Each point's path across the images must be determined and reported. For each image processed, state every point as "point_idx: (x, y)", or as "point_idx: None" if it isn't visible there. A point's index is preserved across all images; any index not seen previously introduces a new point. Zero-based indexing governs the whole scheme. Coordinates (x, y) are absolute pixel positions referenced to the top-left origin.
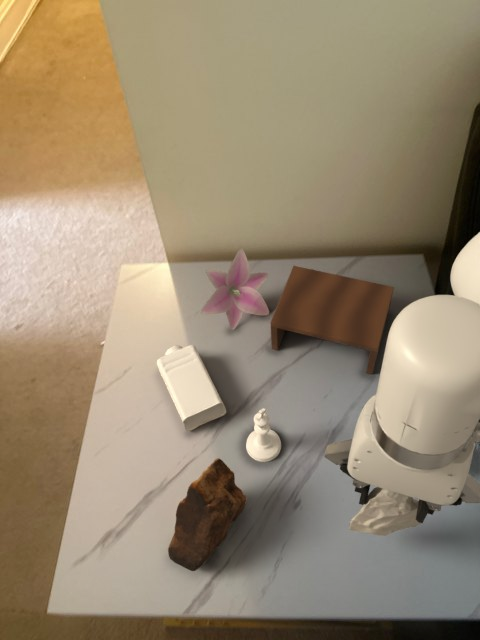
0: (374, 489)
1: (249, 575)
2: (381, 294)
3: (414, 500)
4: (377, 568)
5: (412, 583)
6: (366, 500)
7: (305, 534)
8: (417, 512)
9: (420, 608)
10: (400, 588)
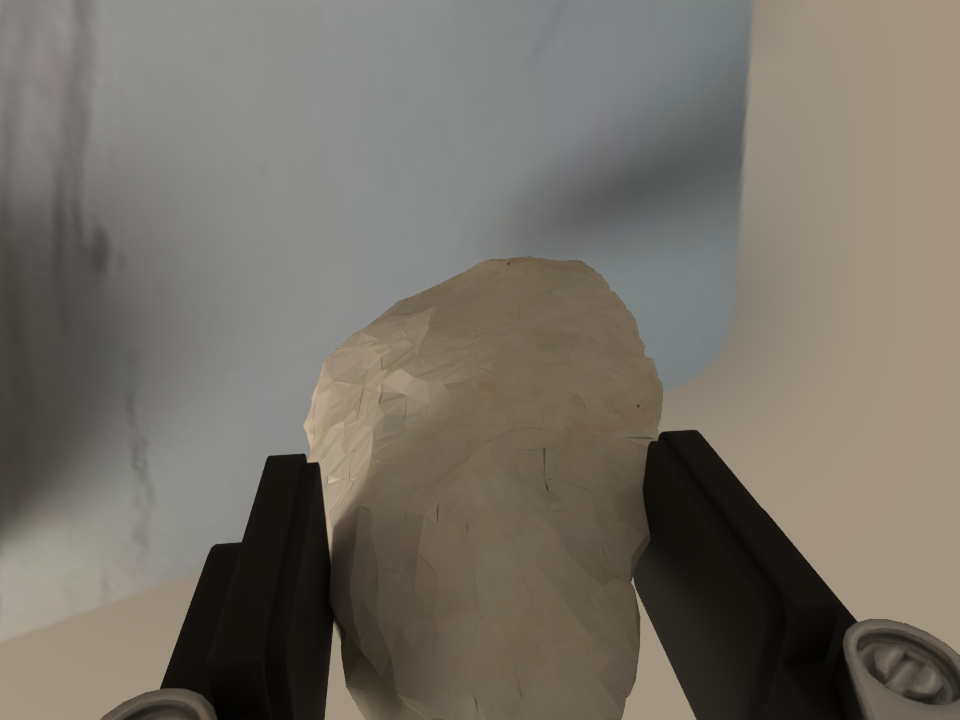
0: (357, 596)
1: (74, 519)
2: None
3: (614, 465)
4: None
5: None
6: (327, 678)
7: (183, 345)
8: (650, 581)
9: None
10: None
